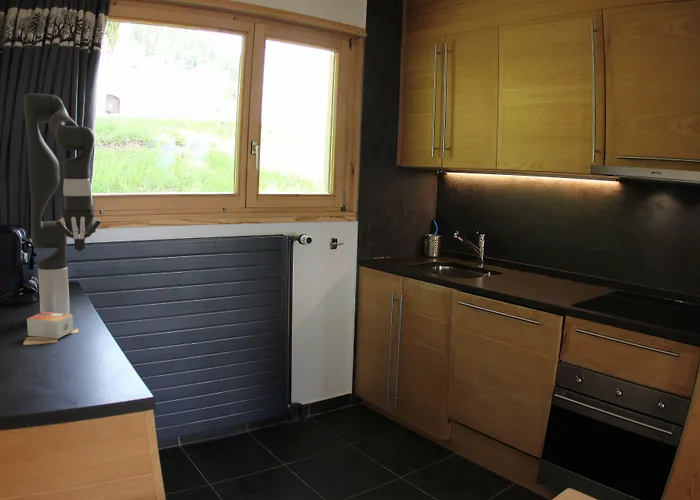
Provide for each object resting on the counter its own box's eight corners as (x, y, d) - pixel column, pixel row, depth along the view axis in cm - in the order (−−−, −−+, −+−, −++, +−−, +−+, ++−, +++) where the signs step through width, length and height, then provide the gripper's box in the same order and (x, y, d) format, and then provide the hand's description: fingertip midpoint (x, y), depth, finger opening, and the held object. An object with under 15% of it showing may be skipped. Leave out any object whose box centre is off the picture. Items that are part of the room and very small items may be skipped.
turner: (28, 337, 192) (28, 334, 192) (29, 333, 197) (29, 330, 196) (78, 333, 197) (78, 330, 197) (78, 329, 202) (78, 326, 202)
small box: (57, 321, 189) (26, 318, 190) (58, 339, 190) (27, 336, 191) (73, 313, 196) (42, 310, 198) (74, 330, 197) (43, 327, 199)
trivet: (26, 338, 191) (26, 337, 191) (58, 336, 194) (58, 334, 194) (23, 345, 184) (23, 343, 184) (56, 342, 187) (56, 341, 187)
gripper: (101, 193, 193) (103, 248, 195) (54, 193, 188) (57, 249, 191) (100, 194, 186) (103, 252, 188) (51, 194, 181) (54, 253, 184)
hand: (79, 251), depth 190 cm, fingers closed
